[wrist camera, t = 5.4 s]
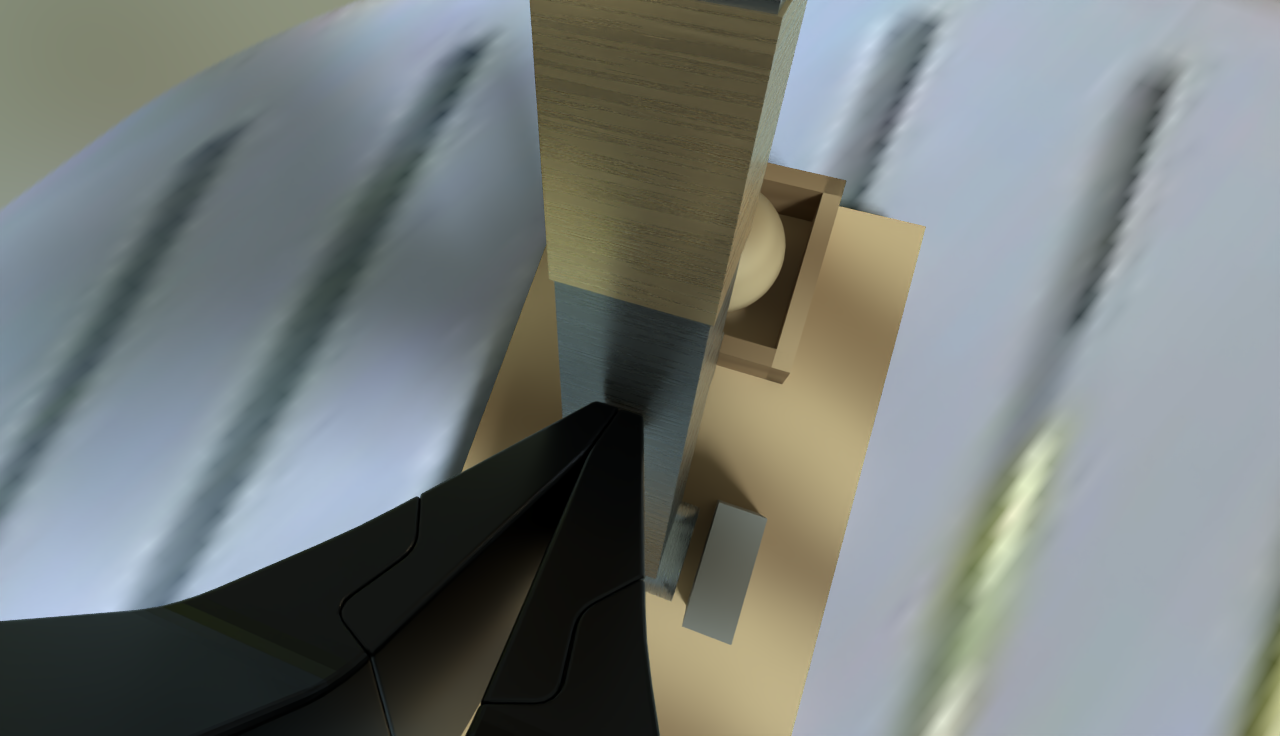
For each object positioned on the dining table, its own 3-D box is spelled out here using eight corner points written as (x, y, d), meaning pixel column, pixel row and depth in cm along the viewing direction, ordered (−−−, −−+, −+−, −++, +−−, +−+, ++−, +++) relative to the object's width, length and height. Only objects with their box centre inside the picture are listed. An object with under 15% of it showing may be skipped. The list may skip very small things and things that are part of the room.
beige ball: (794, 306, 17) (815, 260, 13) (678, 343, 17) (670, 308, 14) (754, 201, 18) (765, 132, 14) (644, 238, 18) (628, 178, 14)
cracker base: (728, 918, 15) (734, 1056, 12) (378, 753, 17) (287, 827, 14) (908, 246, 18) (958, 187, 15) (592, 170, 20) (565, 100, 17)
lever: (667, 615, 15) (843, 7, 4) (553, 571, 15) (477, -56, 5) (718, 450, 18) (881, -100, 8) (623, 420, 19) (664, -130, 8)
